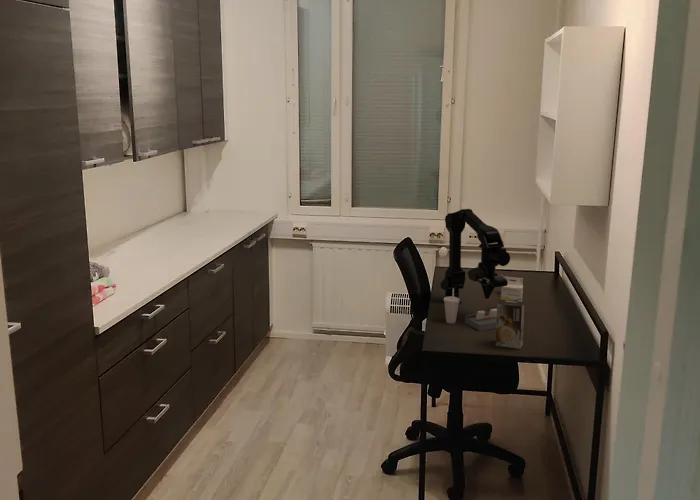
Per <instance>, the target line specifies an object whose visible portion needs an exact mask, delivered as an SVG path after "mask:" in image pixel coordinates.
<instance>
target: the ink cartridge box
mask: <svg viewBox="0 0 700 500" xmlns="http://www.w3.org/2000/svg"><path fill="white" fill-rule="evenodd" d="M503 278H505V279H507V280H508V285H507V286H502V287H500V288H501V289H500V299H503V300H512V301H520V302H523V292H524V284H523V281H524V278H523V277H513V276H504V277H503ZM513 280H514V281H513Z"/></svg>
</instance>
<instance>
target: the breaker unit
mask: <svg viewBox="0 0 700 500" xmlns="http://www.w3.org/2000/svg"><path fill="white" fill-rule="evenodd" d="M489 312H490V311H487V312H486V311H485V316H489ZM476 315H477V313H473V314H467V315H465V316H464V324H466V325H468V326H469V327H471V328H473V329H474V330H477V331H479V332H482V331H487V330H488V331H489V330H493V329H496V321H497V317H493V318H487V319H481V320H475V318H476ZM485 316H484V317H485Z"/></svg>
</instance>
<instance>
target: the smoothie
mask: <svg viewBox="0 0 700 500" xmlns="http://www.w3.org/2000/svg"><path fill="white" fill-rule="evenodd" d="M443 299H444V302H443V303H444V313H445V322H446V323H447V324H455V323H456V322H457V316H458V315H457V314H458V310H459V304H460V303H459V302H460V301H461V299H460V297H459V298H458V297H454V288H453V294H452V296H449V297H445V296H444V298H443Z"/></svg>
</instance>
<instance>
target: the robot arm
mask: <svg viewBox="0 0 700 500" xmlns="http://www.w3.org/2000/svg"><path fill="white" fill-rule="evenodd" d="M473 211H474V210H472V209H471V208H463V209H462V208H461V209H460V210H457V211H454V212H449V213H447V214H446V215H445V217H444V222H445V229H446V230H447V232H448V233H449V234H448V235H449V238H448V240H449V241H448V242H449V243H448V245H449V247H448V248H449V249H448V251H449V252H448V253H449V255H448V259H449V260H448V267H447V269H446V271H445V273H444V274H445V275H444V278H443V280H442V281H441V282H440V288H441V289H442V290H444V298H445V297H449V296H452V294H453V288H454V297H458V298H459V299H460V294H459V293H460V289H461V290H463V289H464V286H465V283H466V280H467V279H466V274H467V276H468V279H469V280H470V281H472V282H477V283H478V284H479V285H480V286H481V289H482V291H483V295H484V298H485V299H486V300H488V299H489V298H490V296H491V294H492V293H493V291H494V290H495V288H501V287H502V286H507V285H508V280H507V279H505V278H503V277H502V276H498V273H497V272H496V269H497V268H496V267H498V266H501V267H505V266H507V265H508V264H509V263H510V261H511V255H510V253H509V252H507V248H506V247H505V245H504V241H503V239H502V236H501V233H500V231H499V230H498V229H497V228H496V227H494V226H491V225H488V224H486V223H485V222H484V221H483V220H482V219H481V218H479V217H478V216H477V215H476V213H474V212H473ZM466 224H467V225H468V226H469V227H470V228H471V229H472V230H473V231H474V232H475V233H476V238H477V240H479V242H480V244H479V245H478V248H479V249H481V252H480V255H481V256H480V261H479V262H478V263H477V266H476V267H474V268H472V269H470V270H468V271H467V273H466V271H465V270H464V269H463V268H462V267H461V265H462V264H461V263H462V258H461V257H462V233H463V232H464V230H465V228H466ZM444 298H443V299H441V302H443V303H445V302H444ZM459 304H462V300H460V302H459Z"/></svg>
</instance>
